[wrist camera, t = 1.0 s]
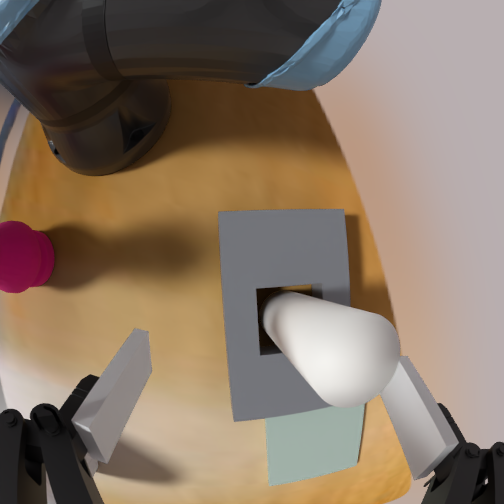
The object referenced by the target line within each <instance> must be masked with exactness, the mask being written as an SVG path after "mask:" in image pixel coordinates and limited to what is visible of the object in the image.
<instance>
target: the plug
mask: <svg viewBox="0 0 504 504" xmlns="http://www.w3.org/2000/svg"><path fill="white" fill-rule="evenodd" d="M259 318H260V323H261V325H262V327H263V329H264V330H265V331H266V333H267V334H268V335H269V336H270V338H271V339H272V340H273V341H274V343H275V344H276V345H277V346H278V347H279V349H280V350H281V351H282V352H283V354H284V355H285V356H286V357H287V358H288V360H289V361H290V362H291V363H292V364H293V366H294V367H295V368H296V369H297V370H298V372H299V373H300V374H301V375H302V376H303V377H304V379H305V380H306V381H307V382H308V383H309V385H310V386H311V387H312V388H313V389H314V390H315V392H316V393H317V394H318V395H319V396H320V397H321V398H322V399H323V400H324V401H325V402H327V403H328V404H330V405H333V406H335V407H340V408H351V407H356V406H359V405H362V404H364V403H367V402H369V401H370V400H372V399H373V398H375V397H376V396H377V395H379V394H380V393H381V392H382V391H383V390H384V389H385V387H386V386H387V385H388V384H389V382H390V381H391V379H392V377H393V376H394V373H395V371H396V369H397V366H398V362H399V357H400V342H399V337H398V334H397V332H396V330H395V328H394V326H393V325H392V324H391V323H390V322H389V321H388V320H387V319H386V318H384V317H383V316H381V315H378V314H375V313H371V312H368V311H364V310H360V309H356V308H352V307H348V306H344V305H341V304H337V303H333V302H329V301H326V300H322V299H318V298H315V297H311V296H307V295H304V294H300V293H296V292H293V291H289V290H280V291H276V292H274V293H272V294H270V295H269V296H268V297H267V298H266V299H265V300H264V302H263V303H262V305H261V308H260V313H259Z"/></svg>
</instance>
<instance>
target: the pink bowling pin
mask: <svg viewBox="0 0 504 504" xmlns="http://www.w3.org/2000/svg"><path fill="white" fill-rule="evenodd" d="M53 267H54V250H53V246H52V243H51V241H50V240H49V238H48V237H47V236H46V235H45V234H44V233H42V232H39V231H35V230H32V229H31V228H30V227H29V226H28V225H26V224H25V223H22V222H18V221H7V222H3V223H0V290H2V291H5V292H7V293H20V292H23V291H25V290H26V289H28V288H29V287H37V286H40V285H42V284H44V283H45V282H46V281H47V280H48V279H49V277H50V275H51V273H52V271H53Z"/></svg>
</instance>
